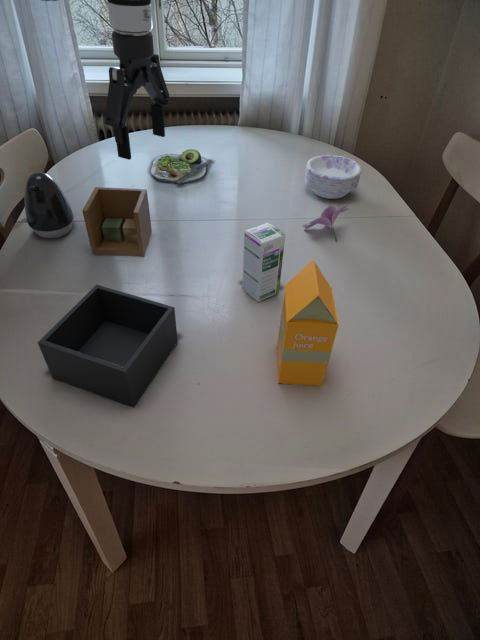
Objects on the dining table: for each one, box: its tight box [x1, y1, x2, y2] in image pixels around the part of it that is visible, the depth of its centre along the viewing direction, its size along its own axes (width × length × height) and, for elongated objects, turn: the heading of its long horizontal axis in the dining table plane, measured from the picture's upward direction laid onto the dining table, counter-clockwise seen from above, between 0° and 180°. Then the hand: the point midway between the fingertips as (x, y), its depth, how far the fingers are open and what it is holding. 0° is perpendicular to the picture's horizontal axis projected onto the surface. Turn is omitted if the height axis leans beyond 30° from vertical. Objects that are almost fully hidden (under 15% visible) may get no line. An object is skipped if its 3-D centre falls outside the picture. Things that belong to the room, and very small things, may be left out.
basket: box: [37, 283, 179, 408], centre depth 73 cm, size 16×16×9 cm
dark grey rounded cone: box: [23, 171, 75, 239], centre depth 99 cm, size 10×10×15 cm
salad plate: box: [150, 149, 213, 185], centre depth 129 cm, size 19×18×5 cm
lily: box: [303, 203, 351, 243], centre depth 106 cm, size 12×12×10 cm
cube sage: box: [102, 218, 124, 242], centre depth 101 cm, size 4×4×4 cm
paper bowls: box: [304, 154, 362, 200], centre depth 122 cm, size 15×15×8 cm
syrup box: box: [241, 221, 286, 303], centre depth 86 cm, size 6×6×14 cm
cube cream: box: [123, 219, 138, 243], centre depth 101 cm, size 4×4×4 cm
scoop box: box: [81, 186, 153, 257], centre depth 97 cm, size 12×11×12 cm
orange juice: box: [276, 258, 340, 387], centre depth 69 cm, size 8×9×20 cm
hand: (142, 146), depth 94 cm, fingers open, 13 cm apart
